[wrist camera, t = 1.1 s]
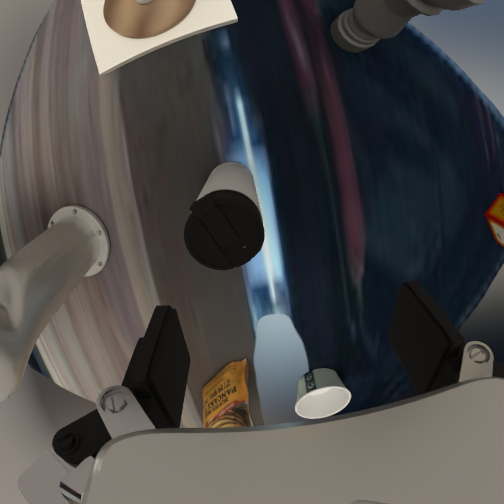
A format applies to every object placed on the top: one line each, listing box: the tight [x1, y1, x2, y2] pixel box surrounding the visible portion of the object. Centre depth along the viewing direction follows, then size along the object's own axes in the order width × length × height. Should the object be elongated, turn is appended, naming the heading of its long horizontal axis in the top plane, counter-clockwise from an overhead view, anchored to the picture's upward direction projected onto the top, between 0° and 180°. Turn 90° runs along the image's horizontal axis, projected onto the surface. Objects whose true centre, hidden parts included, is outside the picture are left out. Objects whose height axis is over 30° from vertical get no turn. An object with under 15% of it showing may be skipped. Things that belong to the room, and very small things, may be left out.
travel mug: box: [184, 161, 264, 270], centre depth 30 cm, size 6×7×20 cm
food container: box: [295, 368, 351, 419], centre depth 56 cm, size 12×12×6 cm
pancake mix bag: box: [202, 358, 255, 428], centre depth 44 cm, size 7×19×28 cm, turn 144°
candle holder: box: [330, 0, 485, 53], centre depth 19 cm, size 6×6×25 cm
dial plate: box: [81, 0, 238, 75], centre depth 26 cm, size 20×16×2 cm
